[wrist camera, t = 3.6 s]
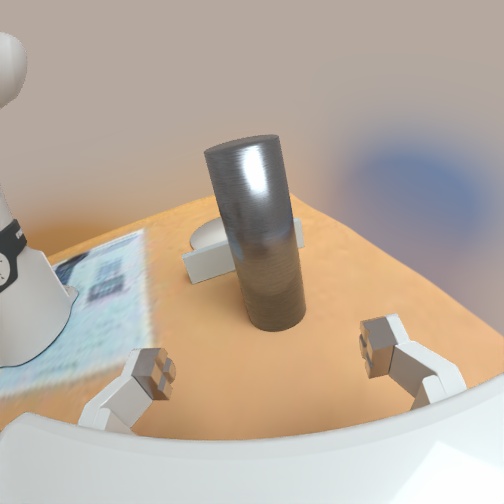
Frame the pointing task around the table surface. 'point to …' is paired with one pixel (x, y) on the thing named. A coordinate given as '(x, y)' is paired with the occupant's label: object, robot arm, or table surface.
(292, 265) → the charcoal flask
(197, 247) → the resting pad
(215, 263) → the acrylic wall
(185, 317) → the table surface
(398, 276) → the table surface
